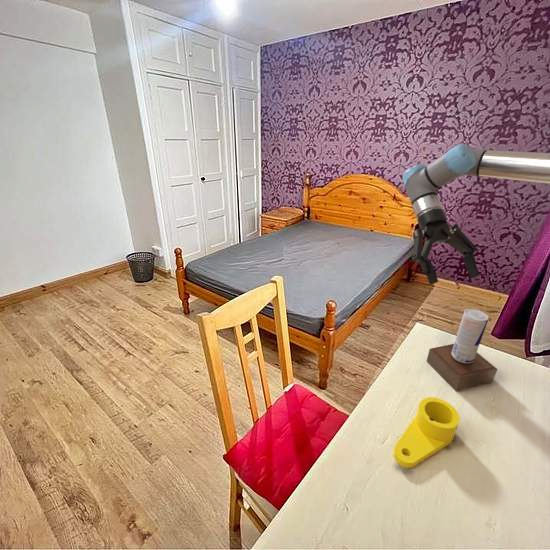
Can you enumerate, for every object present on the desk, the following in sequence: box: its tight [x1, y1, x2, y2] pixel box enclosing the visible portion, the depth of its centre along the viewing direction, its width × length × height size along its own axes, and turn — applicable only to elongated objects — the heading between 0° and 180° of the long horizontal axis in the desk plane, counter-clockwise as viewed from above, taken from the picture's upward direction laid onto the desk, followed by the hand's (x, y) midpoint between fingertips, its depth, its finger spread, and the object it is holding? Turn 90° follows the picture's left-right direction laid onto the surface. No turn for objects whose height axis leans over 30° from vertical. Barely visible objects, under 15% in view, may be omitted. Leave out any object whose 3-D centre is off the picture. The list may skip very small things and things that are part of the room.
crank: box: [392, 396, 460, 469], centre depth 69 cm, size 18×8×6 cm, turn 125°
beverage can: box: [451, 308, 489, 364], centre depth 84 cm, size 6×6×15 cm
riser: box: [426, 343, 498, 392], centre depth 88 cm, size 12×12×5 cm
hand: (455, 280), depth 86 cm, fingers open, 13 cm apart
